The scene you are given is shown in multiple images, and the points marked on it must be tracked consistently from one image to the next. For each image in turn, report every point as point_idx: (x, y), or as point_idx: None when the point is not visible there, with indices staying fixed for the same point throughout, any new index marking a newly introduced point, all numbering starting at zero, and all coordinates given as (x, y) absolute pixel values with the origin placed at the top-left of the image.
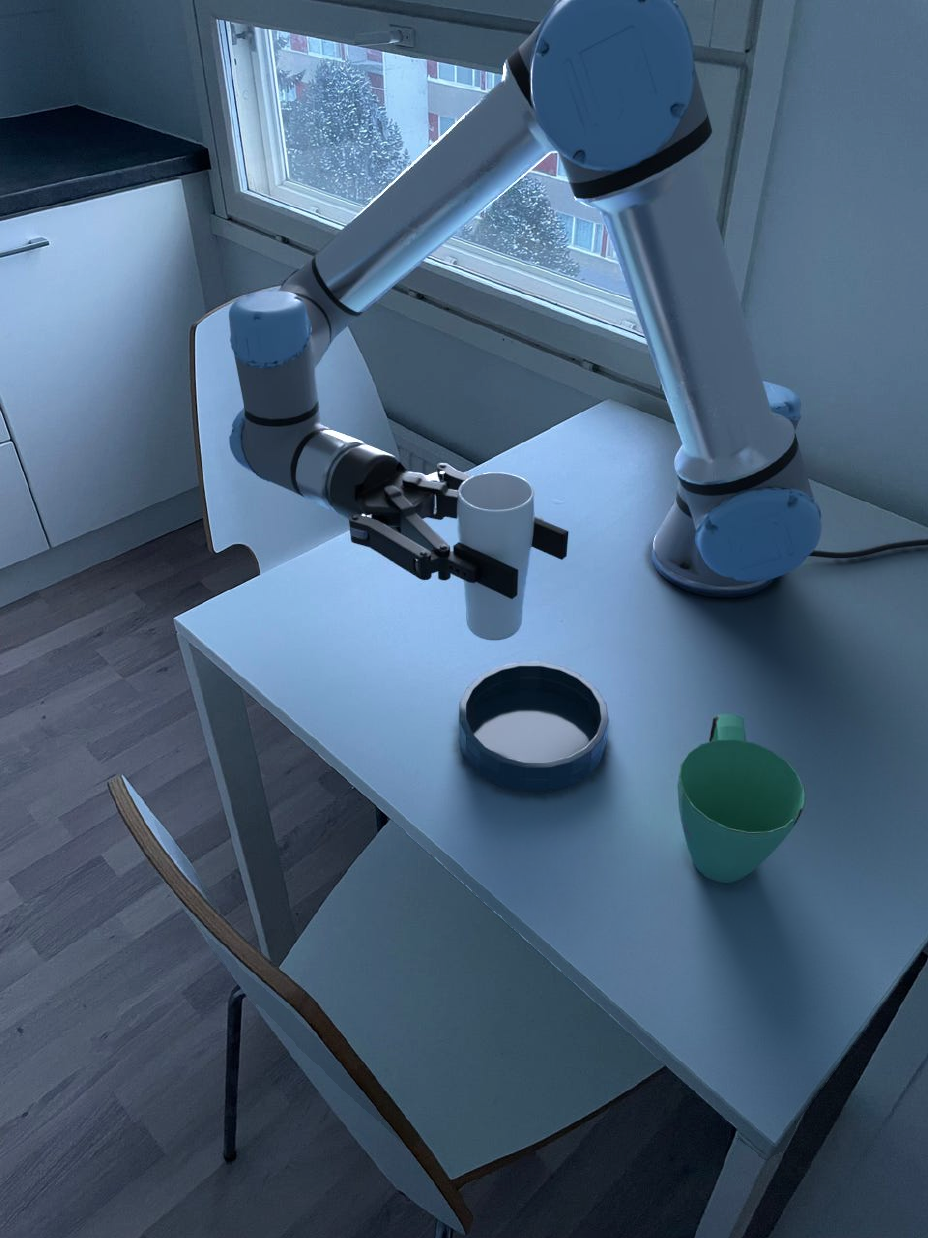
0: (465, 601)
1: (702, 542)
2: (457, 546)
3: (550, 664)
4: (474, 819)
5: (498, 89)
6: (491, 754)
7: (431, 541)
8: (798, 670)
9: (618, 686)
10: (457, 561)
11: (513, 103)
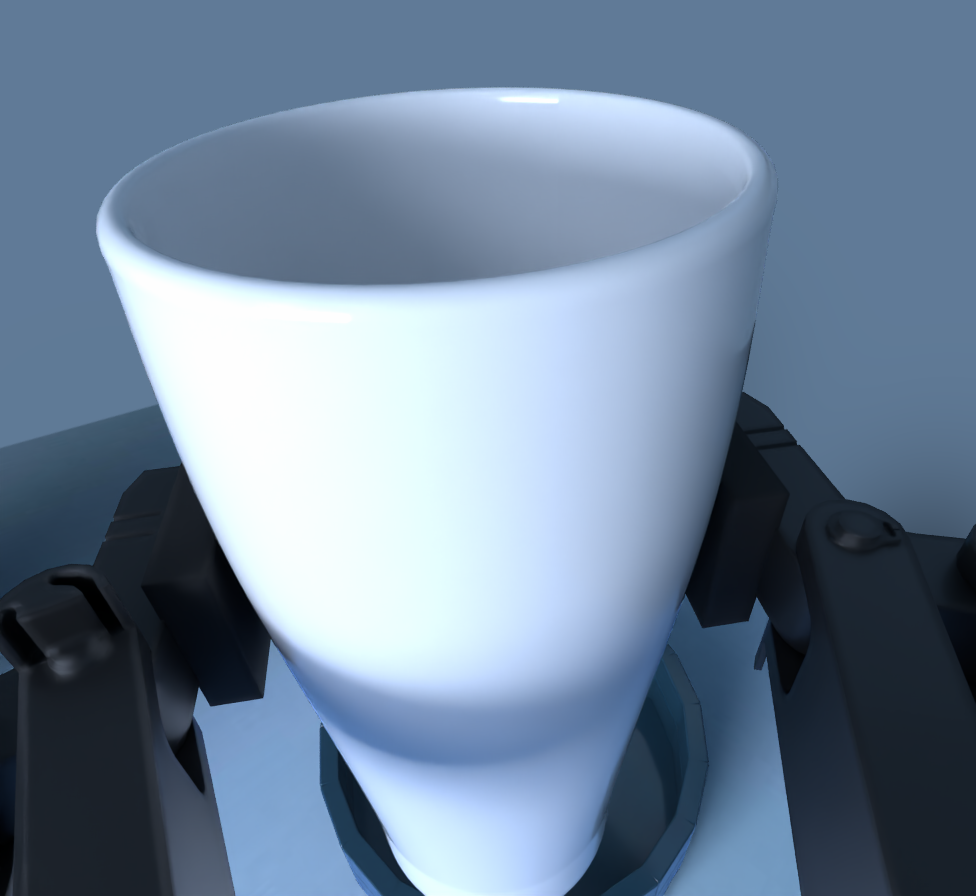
0: (608, 802)
1: None
2: (765, 477)
3: (334, 816)
4: (754, 674)
5: None
6: (683, 678)
7: (927, 625)
8: (15, 554)
9: (235, 742)
10: (793, 465)
11: None
